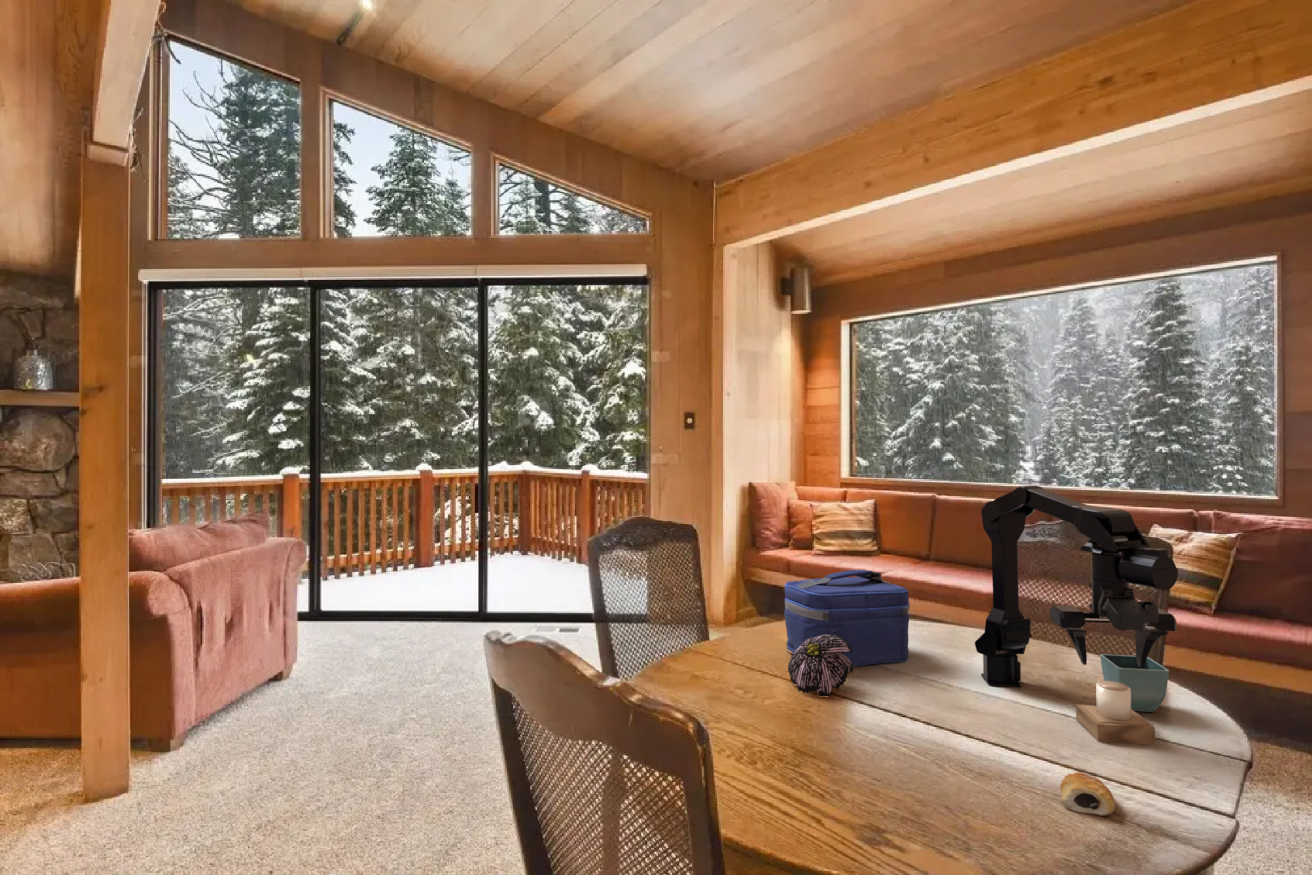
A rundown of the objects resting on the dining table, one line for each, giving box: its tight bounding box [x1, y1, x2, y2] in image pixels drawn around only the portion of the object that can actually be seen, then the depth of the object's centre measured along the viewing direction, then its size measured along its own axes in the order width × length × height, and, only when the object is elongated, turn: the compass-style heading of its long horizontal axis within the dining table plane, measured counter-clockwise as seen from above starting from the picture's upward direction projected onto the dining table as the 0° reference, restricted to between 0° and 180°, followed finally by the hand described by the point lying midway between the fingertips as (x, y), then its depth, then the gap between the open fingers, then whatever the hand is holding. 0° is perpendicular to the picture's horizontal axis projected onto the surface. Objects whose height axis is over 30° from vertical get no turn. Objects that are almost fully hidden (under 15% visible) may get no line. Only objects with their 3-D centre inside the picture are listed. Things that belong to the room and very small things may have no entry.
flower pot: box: [1099, 653, 1170, 713], centre depth 135 cm, size 9×9×9 cm
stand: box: [1075, 704, 1156, 745], centre depth 124 cm, size 9×9×3 cm
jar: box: [1095, 680, 1131, 720], centre depth 124 cm, size 5×5×5 cm
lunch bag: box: [783, 569, 911, 667], centre depth 171 cm, size 31×21×20 cm
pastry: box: [1059, 771, 1117, 817], centre depth 101 cm, size 9×7×4 cm
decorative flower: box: [787, 634, 854, 697], centre depth 149 cm, size 15×12×15 cm
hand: (1112, 665), depth 124 cm, fingers open, 9 cm apart
